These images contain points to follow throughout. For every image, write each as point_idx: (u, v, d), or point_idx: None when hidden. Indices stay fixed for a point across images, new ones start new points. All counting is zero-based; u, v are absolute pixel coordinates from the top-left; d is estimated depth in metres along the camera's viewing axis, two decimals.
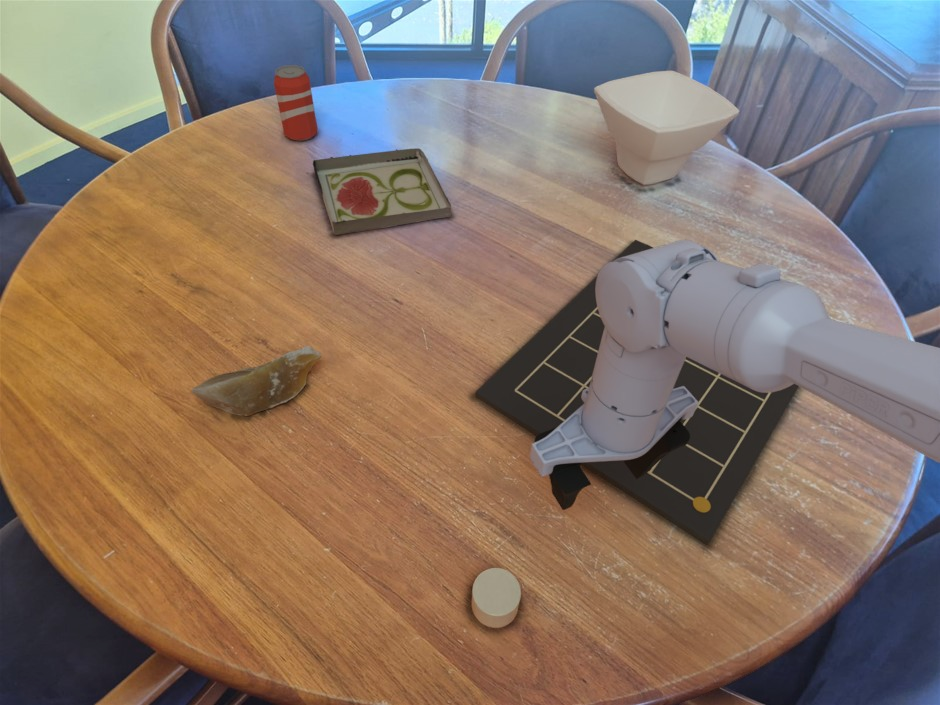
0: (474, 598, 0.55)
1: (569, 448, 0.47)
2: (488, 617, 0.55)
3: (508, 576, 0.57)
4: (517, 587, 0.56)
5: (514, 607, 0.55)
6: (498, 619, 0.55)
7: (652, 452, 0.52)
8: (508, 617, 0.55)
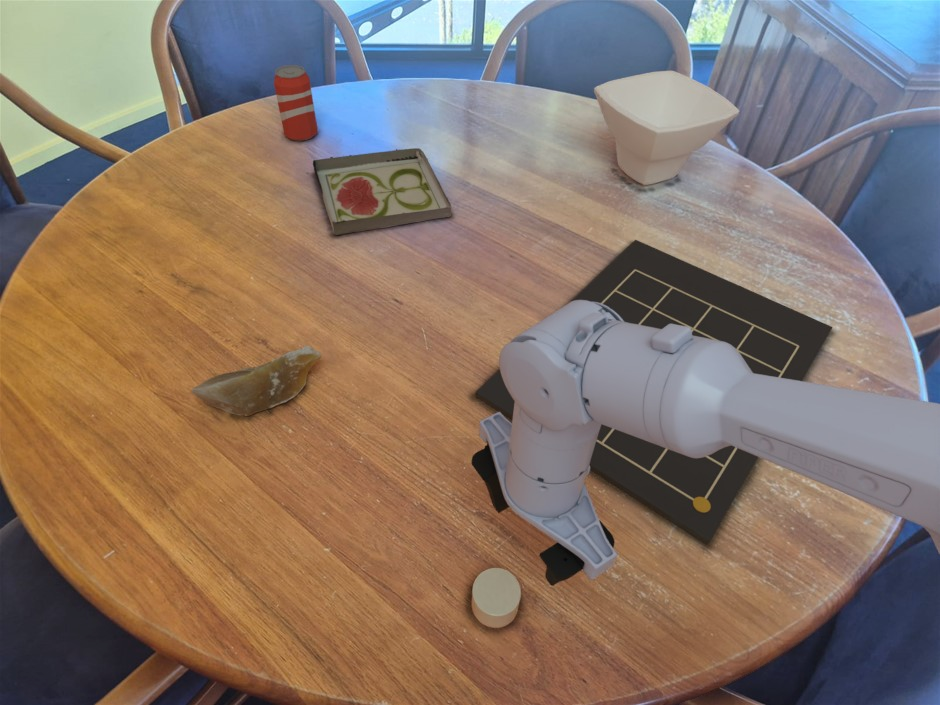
0: (474, 598, 0.55)
1: (502, 441, 0.49)
2: (488, 617, 0.55)
3: (508, 576, 0.57)
4: (517, 587, 0.56)
5: (514, 607, 0.55)
6: (498, 619, 0.55)
7: None
8: (508, 617, 0.55)
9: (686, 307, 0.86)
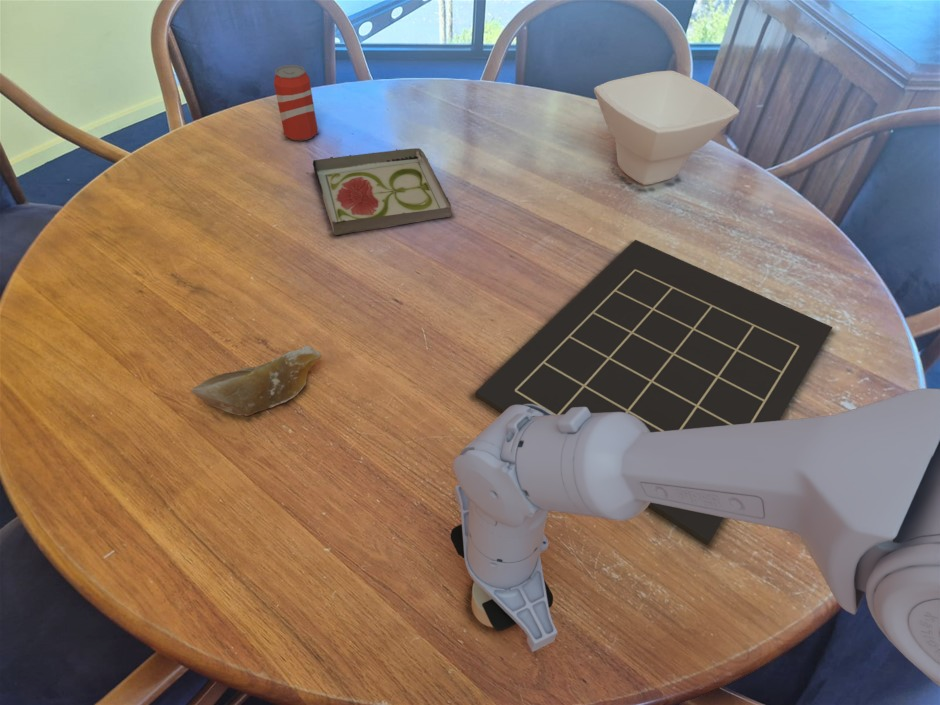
0: (474, 598, 0.55)
1: None
2: None
3: None
4: None
5: None
6: None
7: None
8: None
9: (686, 307, 0.86)
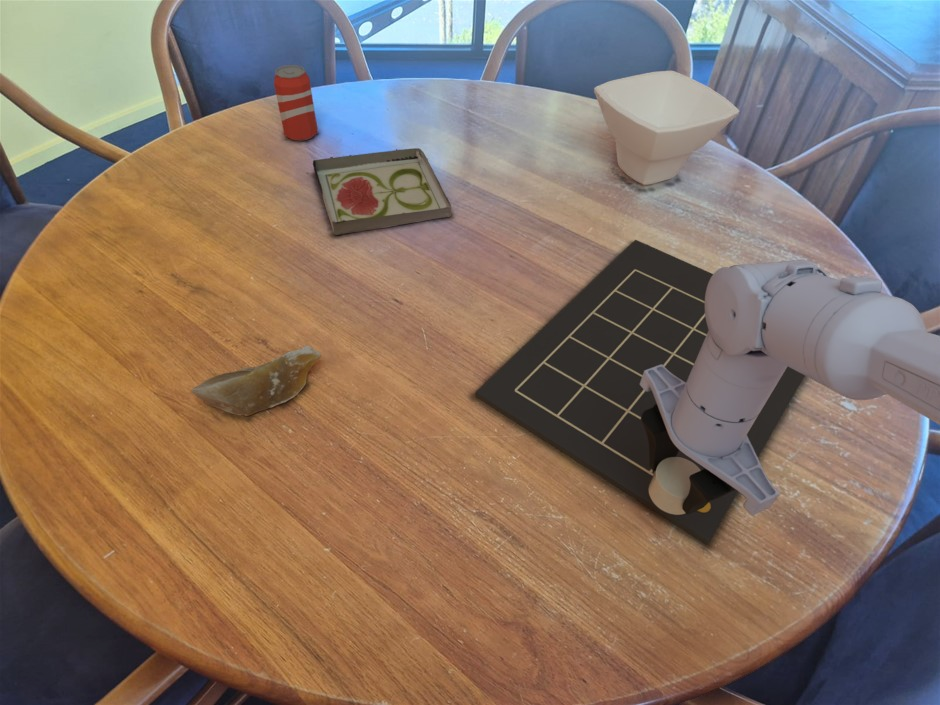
0: (660, 483, 0.56)
1: (666, 390, 0.54)
2: (675, 501, 0.56)
3: (689, 464, 0.57)
4: None
5: None
6: None
7: None
8: None
9: (686, 307, 0.86)
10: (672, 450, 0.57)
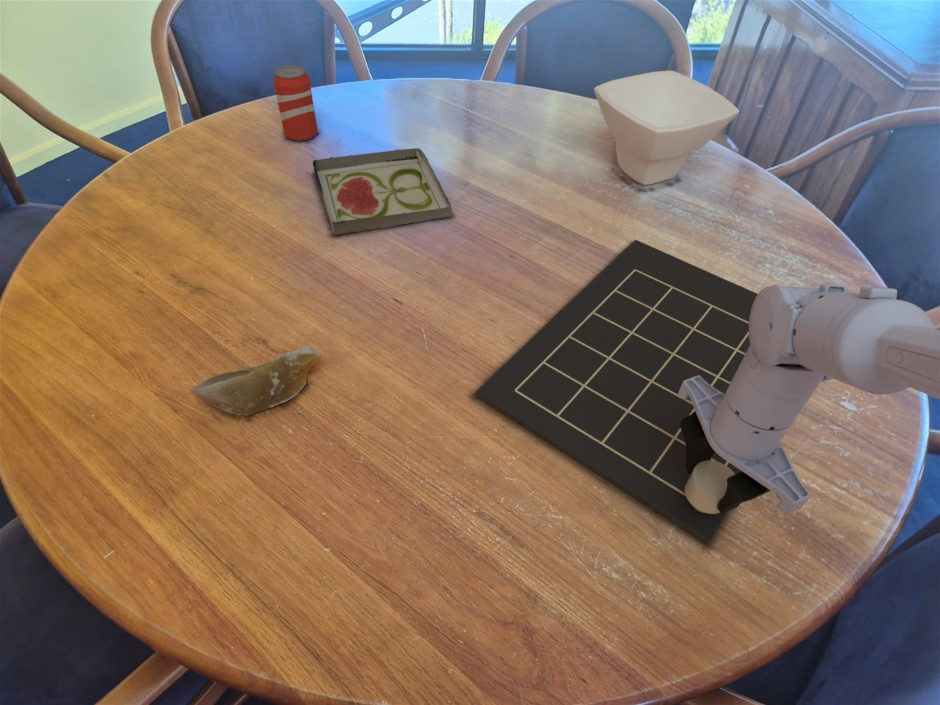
0: (697, 484, 0.61)
1: (703, 399, 0.58)
2: (711, 501, 0.60)
3: (723, 467, 0.62)
4: None
5: None
6: None
7: None
8: None
9: (686, 307, 0.86)
10: (707, 454, 0.62)
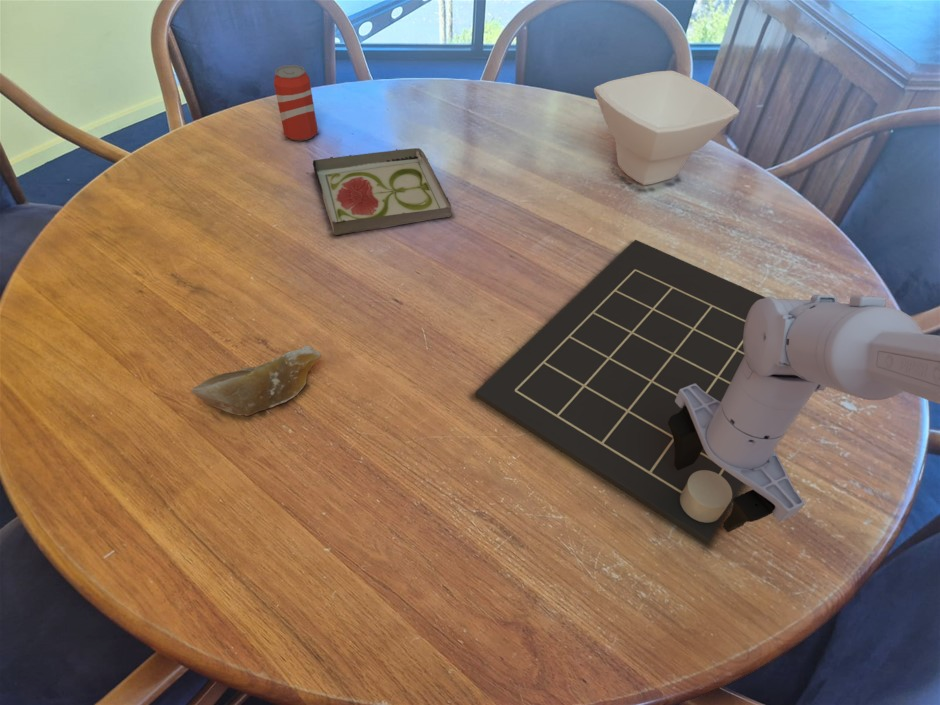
0: (691, 494, 0.62)
1: (700, 407, 0.59)
2: (705, 511, 0.62)
3: (717, 477, 0.63)
4: (727, 485, 0.63)
5: (729, 501, 0.61)
6: (714, 512, 0.61)
7: None
8: (722, 511, 0.62)
9: (686, 307, 0.86)
10: (695, 451, 0.64)
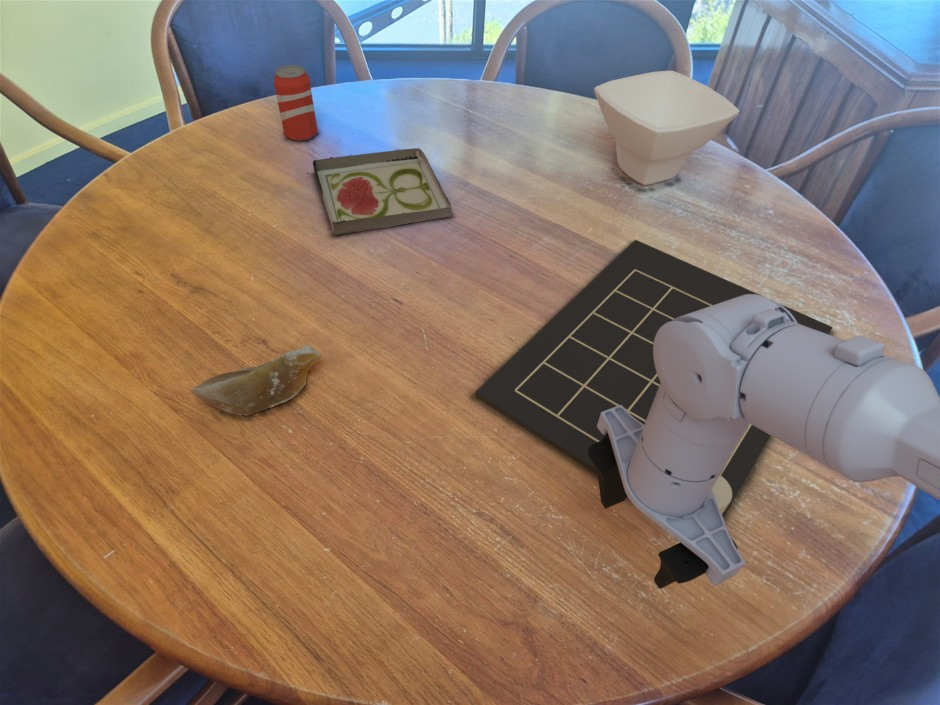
0: None
1: (624, 435, 0.48)
2: None
3: None
4: (727, 485, 0.63)
5: (729, 501, 0.61)
6: None
7: None
8: (722, 511, 0.62)
9: (686, 307, 0.86)
10: None
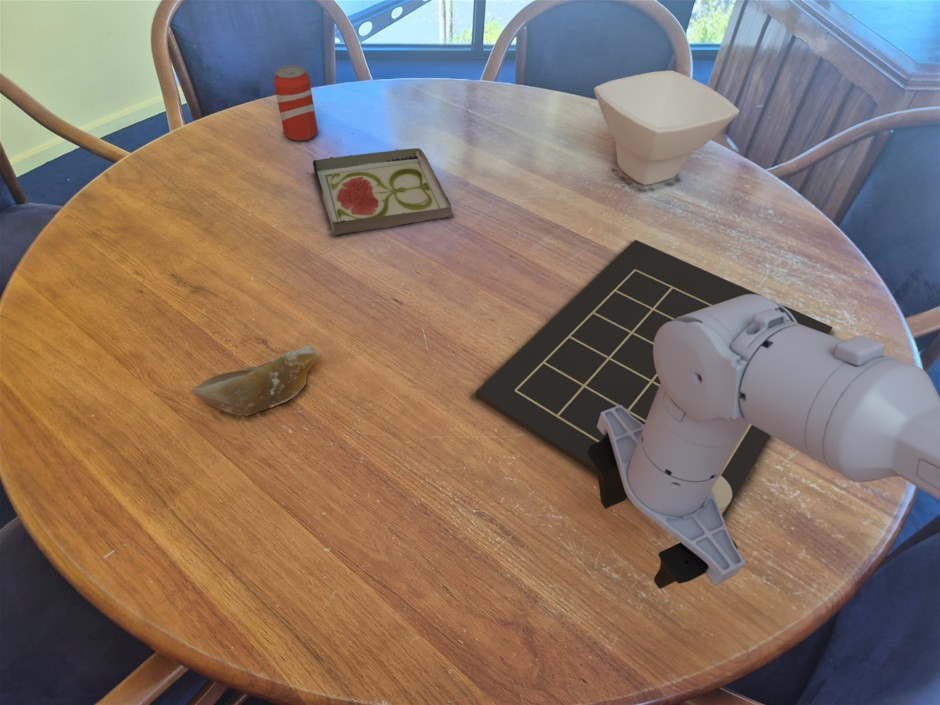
0: None
1: (624, 435, 0.48)
2: None
3: None
4: (727, 485, 0.63)
5: (729, 501, 0.61)
6: None
7: None
8: (722, 511, 0.62)
9: (686, 307, 0.86)
10: None
